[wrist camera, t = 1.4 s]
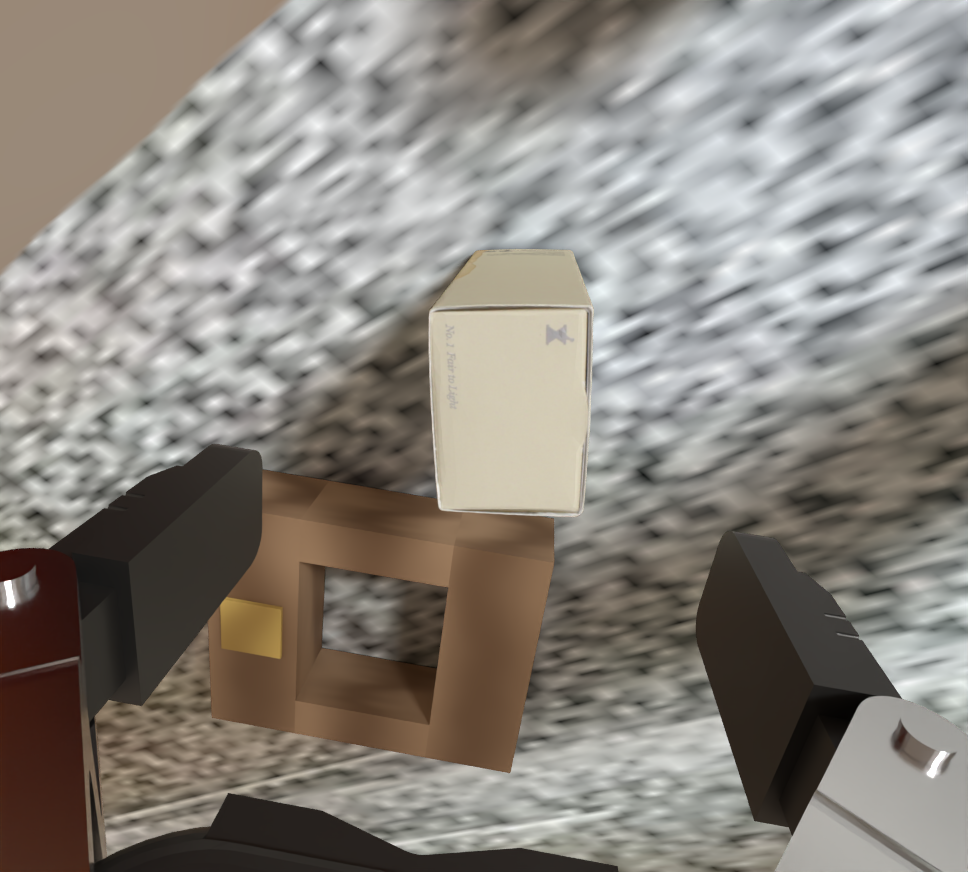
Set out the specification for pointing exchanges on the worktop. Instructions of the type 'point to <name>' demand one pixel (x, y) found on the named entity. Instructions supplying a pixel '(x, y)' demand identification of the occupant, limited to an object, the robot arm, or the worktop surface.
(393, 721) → the brown square frame block
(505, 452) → the skincare box
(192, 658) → the worktop surface
